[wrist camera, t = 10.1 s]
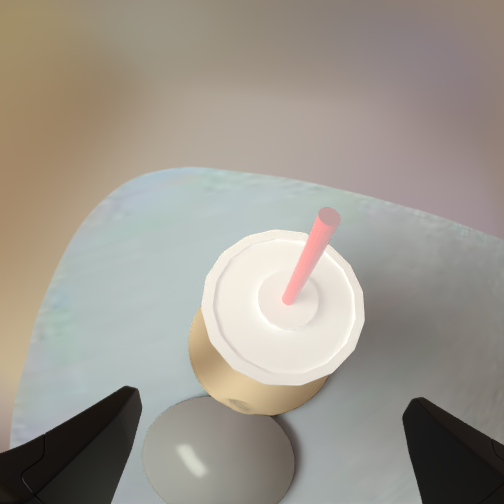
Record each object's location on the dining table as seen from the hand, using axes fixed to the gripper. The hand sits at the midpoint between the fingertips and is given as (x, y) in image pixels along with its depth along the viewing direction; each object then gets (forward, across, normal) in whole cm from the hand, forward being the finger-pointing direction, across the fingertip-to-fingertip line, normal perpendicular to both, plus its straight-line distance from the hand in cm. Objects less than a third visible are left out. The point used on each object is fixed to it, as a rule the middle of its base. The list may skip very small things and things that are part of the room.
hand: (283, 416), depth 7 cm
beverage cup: (+10, 0, +4) cm, 11 cm away
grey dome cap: (+4, +2, +11) cm, 12 cm away
